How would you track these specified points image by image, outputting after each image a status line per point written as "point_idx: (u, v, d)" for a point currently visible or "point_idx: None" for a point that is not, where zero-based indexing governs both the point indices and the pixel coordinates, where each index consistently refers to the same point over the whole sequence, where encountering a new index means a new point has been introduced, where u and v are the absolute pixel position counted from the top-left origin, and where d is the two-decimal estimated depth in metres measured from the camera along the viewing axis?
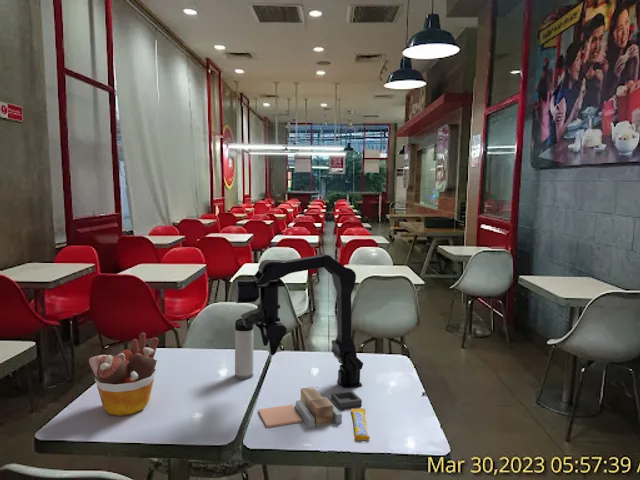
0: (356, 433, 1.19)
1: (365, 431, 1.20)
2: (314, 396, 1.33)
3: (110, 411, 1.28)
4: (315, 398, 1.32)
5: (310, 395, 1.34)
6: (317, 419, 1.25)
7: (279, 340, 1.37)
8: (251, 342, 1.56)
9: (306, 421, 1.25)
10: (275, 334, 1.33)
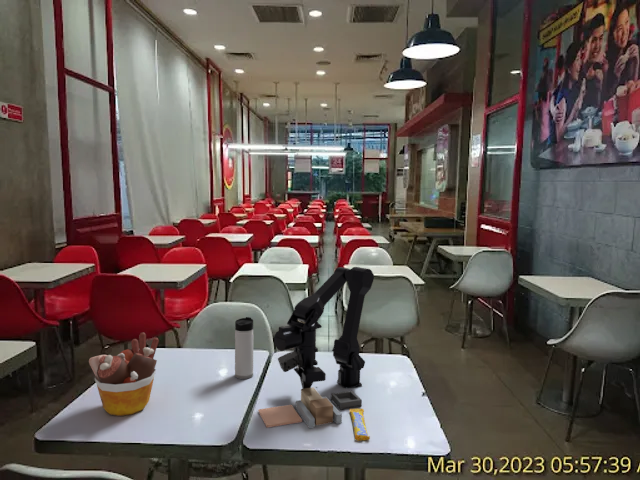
0: (356, 433, 1.19)
1: (365, 431, 1.20)
2: (314, 397, 1.33)
3: (110, 411, 1.28)
4: (315, 399, 1.31)
5: (310, 395, 1.33)
6: (317, 419, 1.25)
7: None
8: (251, 342, 1.56)
9: (306, 421, 1.25)
10: (314, 380, 1.31)
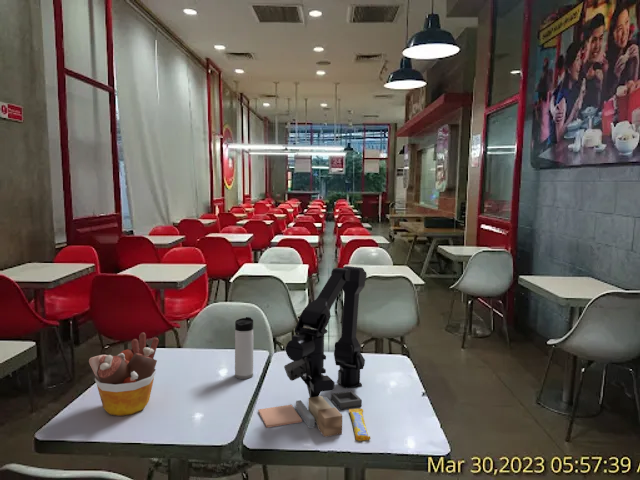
0: (356, 434, 1.19)
1: (365, 431, 1.20)
2: (323, 406, 1.26)
3: (110, 411, 1.28)
4: (324, 408, 1.25)
5: (318, 405, 1.27)
6: (326, 430, 1.19)
7: None
8: (251, 342, 1.56)
9: (306, 421, 1.25)
10: (323, 390, 1.25)
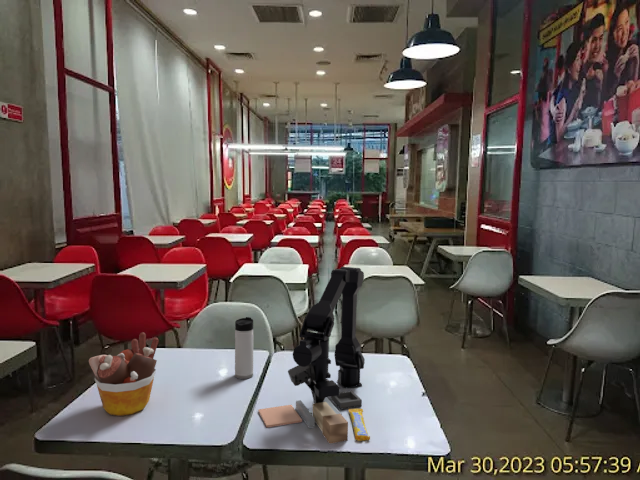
0: (356, 434, 1.19)
1: (365, 431, 1.20)
2: (328, 413, 1.23)
3: (110, 411, 1.28)
4: None
5: (323, 411, 1.24)
6: (331, 437, 1.16)
7: None
8: (251, 342, 1.56)
9: (306, 421, 1.25)
10: (328, 395, 1.21)
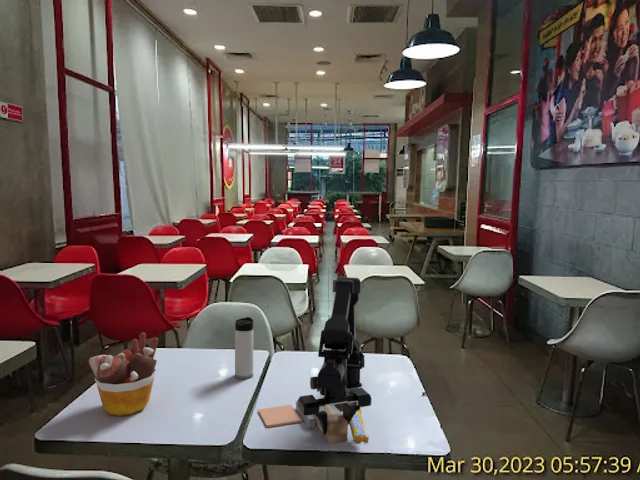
0: (355, 434, 1.19)
1: (363, 432, 1.20)
2: (328, 413, 1.23)
3: (110, 411, 1.28)
4: None
5: None
6: (331, 436, 1.16)
7: (321, 420, 1.16)
8: (251, 342, 1.56)
9: (306, 421, 1.25)
10: (300, 408, 1.16)
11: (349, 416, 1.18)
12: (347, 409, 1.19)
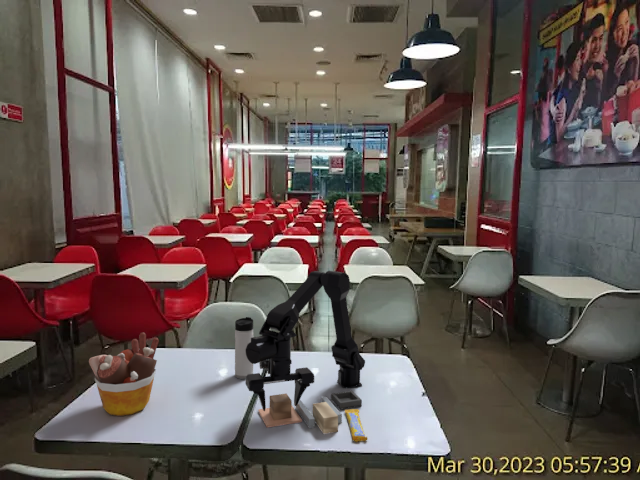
0: (353, 434, 1.19)
1: (362, 432, 1.20)
2: (328, 413, 1.23)
3: (110, 411, 1.28)
4: (329, 415, 1.22)
5: (323, 411, 1.24)
6: (275, 414, 1.26)
7: (259, 397, 1.25)
8: None
9: (306, 421, 1.25)
10: (247, 385, 1.26)
11: (300, 392, 1.29)
12: (298, 385, 1.30)
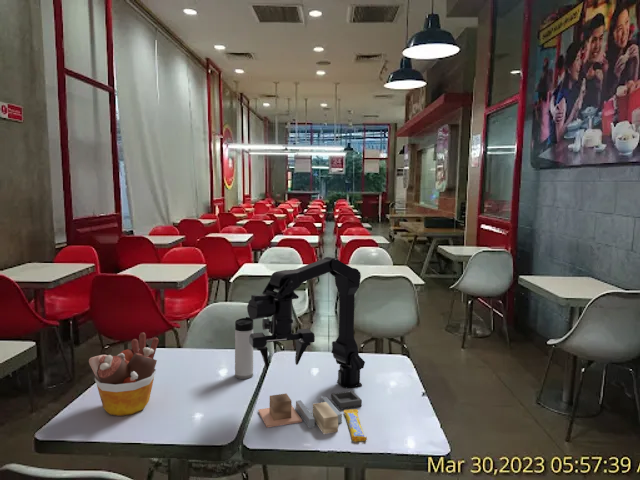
0: (353, 434, 1.19)
1: (361, 432, 1.19)
2: (328, 413, 1.23)
3: (110, 411, 1.28)
4: (329, 415, 1.22)
5: (323, 411, 1.24)
6: (275, 414, 1.26)
7: (262, 354, 1.32)
8: None
9: (306, 421, 1.25)
10: (250, 343, 1.32)
11: (301, 350, 1.35)
12: (299, 345, 1.36)
